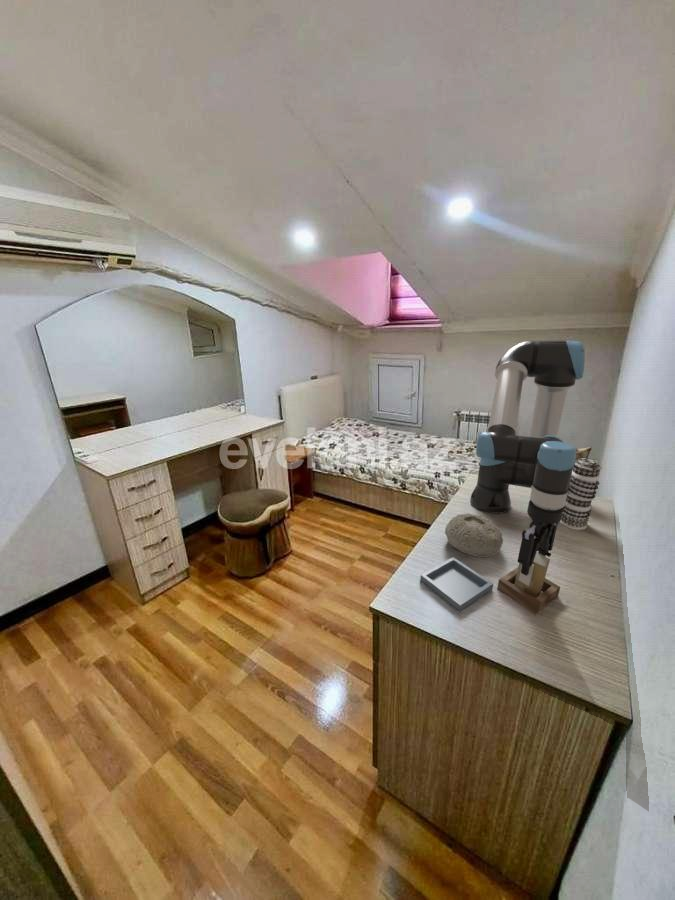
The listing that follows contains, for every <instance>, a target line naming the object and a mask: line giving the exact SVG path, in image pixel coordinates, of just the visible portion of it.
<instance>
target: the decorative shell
mask: <svg viewBox="0 0 675 900" xmlns="http://www.w3.org/2000/svg"><path fill="white" fill-rule="evenodd" d="M445 526H446V527H445V529H444V533H445V535H446V538H447V541H448V543H449V544H450V545H451V546H452V547H453V548H455V549H456V550H457V551H458V550H459V552H462V553H464V554H466V555H469V556H473V557H474V556H475V557H481V558H486V557H490V556H493V555H496V554H497V553H498V552H500V550H501V548H502V545H503V543H504V538H503V533H502V532H501V531H500V529H499V528H498V527H497V525H496V524H495V523H494V522H493V521H491V520H490V519H487V518H486V517H484V516H482V515H478V514H472V513H469V512H468V513H461V514H457V515H456V516H453V517H452V518H451V519H450V520H449V522H448V523H447V524H446V525H445Z"/></svg>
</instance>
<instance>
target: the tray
mask: <svg viewBox="0 0 675 900" xmlns="http://www.w3.org/2000/svg"><path fill="white" fill-rule="evenodd" d="M419 580H420V583H422V585H424V586H425V587H427V588H428V589H429V590H430V591H431V592H433V593H434V594H435V595H437V597H439V598H441V600H442V601H444V602H445V603H446V604H448V605H449V606H451V607H452V608H453V609H454V610H455V611H456V612H458V613H461V612H463V611H464V610H466V609H467V608H469V607H470V606H471V605H474V604H475V603H476V602H478V601H479V600H480V599H482V598H483V597H485V596H487V595H488V594H489V593H491V592H492V591H493V589H494V582H492V581H491V580H490V579H488V578H486V577H484V576H483V575H481V574H480V573H478V572H477V571H475V570H473V569H472V568H470V567H469V566H468V565H466V564H464V563H463V562H461V561H460V560H458V559H457V558H456V557H454V556H452V557H451V558H449V559H446V560H445V561H443V562H441V563H440V564H438V565H436V566H434V567H433V568H431V569H429V570H427V571H424V572H423V573H421V574H420V579H419Z"/></svg>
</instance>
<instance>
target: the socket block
mask: <svg viewBox="0 0 675 900" xmlns="http://www.w3.org/2000/svg"><path fill="white" fill-rule="evenodd" d="M517 571H518V566H517V567H516V568H514V569H512V570H511V571H509V572H508V573H506V574H505V575H504V576H501V577H500V578H499V579H498V583H497V588H496V590H497V591H499V592H500V593H502V594H504V595H505V596H506V597H508V598H510V599H511V600H512V601H513V602H515V603H516V604H518V605H520V606H521V607H523V608H524V609H526V610H527V611H529V612H530V613H532V614H533V615H535V616H537V615H538V614H539V613H540V612H542V611H543V609H545V608H546V607H548V606H549V605H550V604H552V603H553V601H555V600H556V599H557V598H558V597H559V593H560V590H561V586H560V585H558V584H556V583H554V582H552V581H551V580H549V579H548V578H546V577H545V580H544V583H543V587H542V590H541V594H540V595H539V596H538V597H537V598H534V597H532V596H531V595H529V594H528V593H526V592H525V591H523V590H521V589H520V588H518V587H517V586H515V585H514V583H515V579H516V575H517Z"/></svg>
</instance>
